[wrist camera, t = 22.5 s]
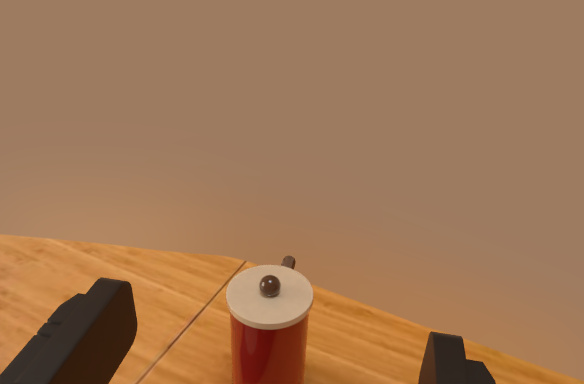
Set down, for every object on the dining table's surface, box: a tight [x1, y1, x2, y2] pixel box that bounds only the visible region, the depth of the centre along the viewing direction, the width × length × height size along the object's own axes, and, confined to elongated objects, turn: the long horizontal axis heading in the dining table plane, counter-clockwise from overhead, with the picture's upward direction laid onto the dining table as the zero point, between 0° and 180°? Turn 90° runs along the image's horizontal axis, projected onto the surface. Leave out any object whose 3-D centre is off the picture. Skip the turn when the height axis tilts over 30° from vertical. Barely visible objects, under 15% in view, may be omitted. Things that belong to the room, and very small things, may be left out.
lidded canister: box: [226, 256, 313, 384], centre depth 42 cm, size 12×6×13 cm, turn 170°
